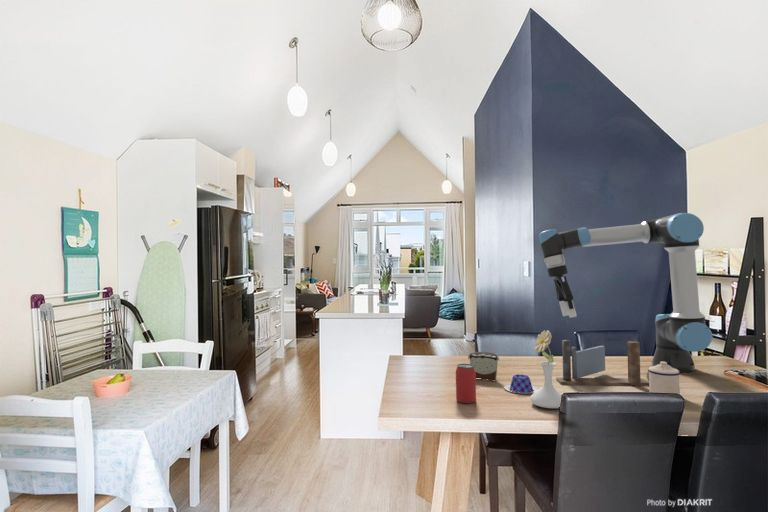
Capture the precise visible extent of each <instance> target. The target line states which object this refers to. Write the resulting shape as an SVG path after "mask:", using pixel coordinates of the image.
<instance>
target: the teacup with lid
mask: <svg viewBox="0 0 768 512" xmlns="http://www.w3.org/2000/svg"><path fill="white" fill-rule="evenodd" d="M680 374H681V372H679V371H678V370H677V369H675V368H672V367H671V366H669V365H667V363H666V362H660V364H658V365H656V366H652V365H651V366H649V367H648V369H647V372H646V379H647V380H646V381H648V382H649V386H648V389H649V392H662V393H678V394H680ZM680 395H681V394H680Z"/></svg>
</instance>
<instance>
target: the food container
mask: <svg viewBox="0 0 768 512" xmlns="http://www.w3.org/2000/svg"><path fill="white" fill-rule="evenodd" d="M467 359H469V364H471V365H473V366H474V369H475V373H476V378H481V379H488V380H487V381H489V380H495V381H494V382H496V381H497V373H498V372H497V371H498V361H500V358H499V355H498V353H495V352H489V351H473V352H469V354H468V356H467Z"/></svg>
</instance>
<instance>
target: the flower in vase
mask: <svg viewBox="0 0 768 512" xmlns="http://www.w3.org/2000/svg"><path fill="white" fill-rule="evenodd" d="M552 337H553V335H552V333H551V332H550V330H548V329H547V330H545V329H544V330H543V331H541V332H540V334H537V337H536V341H535V342H534V345H535V346H534V351H536V353H542V356H543V358H545V359H547V360H545V361H540V362H539V365H540V366H541V368H542V371H543V375H544V378H543V379H544V380H543V385H542V387H540V388H538V389H539V390H538V391H536V392H535V393H532V394H531V395H530V398H529V400H530V402H531V403H532V404H534V405H535V406H537V407H540V408H544V409H560V408H559V406H560V399H561V395H563V394H562V393H561V392H560V391H559V390H557V389H556V388H555V387H554V385H553V379H552V378H553V376H552V375H553V370H554V367H555V366H556V365H557V363H556V362H555V361H554V355H553V354H552V352H551V349H550V346H549V345H550V343H551V341H552ZM546 349H548V351H549V354H548V353H547V352H546V351H545V350H546Z"/></svg>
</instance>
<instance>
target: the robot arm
mask: <svg viewBox="0 0 768 512" xmlns="http://www.w3.org/2000/svg"><path fill="white" fill-rule="evenodd" d="M704 229H705V227H704V224H703V221H702V220H701V219H700V217H699V216H697V215H695V214H693V213H690V212H679V213H678V212H677V213H674V214H671V215H666V216H663V217H660V218H656V219H652V220H644V221H642V222H641V223H638V224H628V225H619V226H618V225H617V226H609V227H608V226H607V227H599V228H598V227H597V228H590V229H588V227H585V226H584V227H578V228H574V229H571V230H570V229H569V230H565V231H562V232H558V231H557V229H556V228H552V229H547V230H544V231H541V232H539V234H538V239H539V244H540V248H541V250H542V251H541V252H542V255H543V259H544V260H543V263H544V264H545V266H546V268H547V274H548V277H549V278H553V277H554V278H553V283H554V288H555V293H556V299H557V300H558V302H559V303H558V304H559V307H560V310H561V311H560V312H561V313H562V317H567V316H568V317H569V319H571V318H577V317H578V316H577V315H578V314H577V312H576V311H577V310H576V308H575V305H574V301H573V300H574V296H573V294H572V291H571V288H570V285H569V283H568V280H567V276H566V275H567V274H568V273H569V271H568V268H567V265H566V259H565V256H564V253H563V251H566V250H570V249H576V248H585V247H594V246H595V247H597V246H606V245H607V246H608V245H618V244H627V243H629V244H631V243H641V242H642V243H644V244H663V249H664V250H665V251H667V252H668V260H669V261H668V262H669V272H670V283H671V284H670V285H671V287H670V288H671V300H672V308H673V310H672V312H671V313H667V314H666V313H664V314H663V313H662V314H661V313H660V314H657V315H656V316H655V321H654V324H655V345H656V348H655V351H654V354H653V357H652V361H651V367H652V366H656V365H658V364H660V362H666V363H667V365H669V366H671V367H672V368H675V369H677V370H678V371H679V372H680V373H690V372H691V373H692V372H694V371H695V370H696V367H695V366H696V365H695V363H694V360H693V357H692V355H691V352H693V353H695V352H696V353H697V352H701V351H703V350H705V349H707V348H708V347H709V346H710V345H711V343H712V340H713V333H712V330H711V329H710V328H709V327H708V326H707V325H706V316H705V315H704V314H703V313H702V312H701V310H700V300H699V299H700V298H699V285H698V275H697V261H696V260H697V259H696V250H697V249H698V248H699V247H700V238H701V237H702V236H703V234H704V231H705V230H704ZM564 275H565V276H564Z"/></svg>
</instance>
